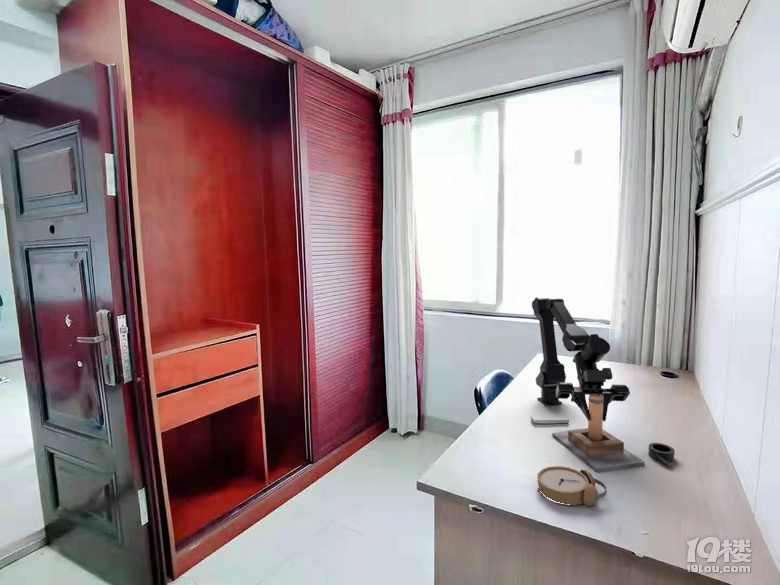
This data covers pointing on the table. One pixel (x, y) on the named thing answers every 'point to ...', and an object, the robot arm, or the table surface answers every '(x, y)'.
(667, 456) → the black hollow winged cylinder
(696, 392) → the table surface
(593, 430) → the terracotta pin
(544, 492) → the alarm clock
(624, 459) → the block
